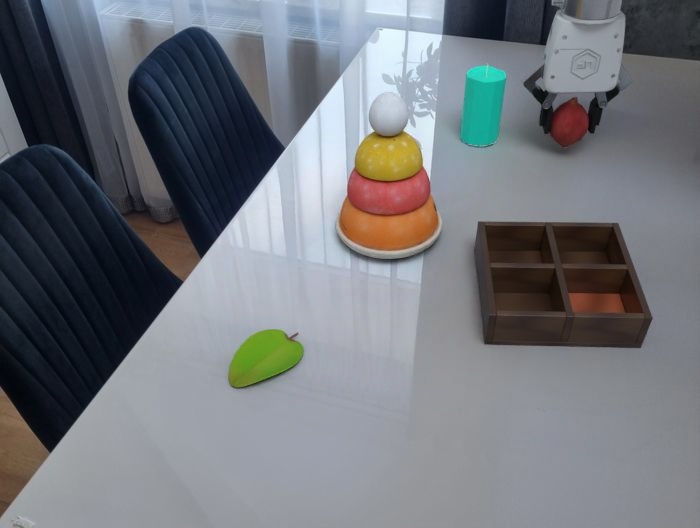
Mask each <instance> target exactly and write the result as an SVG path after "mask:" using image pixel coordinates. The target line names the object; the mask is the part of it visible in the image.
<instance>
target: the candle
mask: <svg viewBox="0 0 700 528" xmlns="http://www.w3.org/2000/svg"><path fill="white" fill-rule="evenodd" d="M506 83H507V75H506V71H505V70H503V69H500V68H496V67H493V66H491V65H489V63H486V65H477V66H475V67H472V68H470V69H469V70H467V72H466V73H465V83H464V91H463V92H464V93H463V103H462V113H461V125H460V135H459V137H460V136H461V137H460V139H462V140H461V142H462V141H464V142H466V143H467V144H472V145H478V146H480V145H481V146H482V145H489V144H491V143H494V142H495V141H496V140H497V138H498V139H499V133H500V126H501V120H502V112H503V104H504V97H505V91H506V85H507V84H506ZM497 141H498V140H497ZM497 141H496V142H497ZM464 142H463V143H464ZM467 144H466V145H467Z"/></svg>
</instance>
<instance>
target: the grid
mask: <svg viewBox="0 0 700 528" xmlns="http://www.w3.org/2000/svg"><path fill="white" fill-rule="evenodd" d="M474 242H475V243H474V249H473V250H474V258H475V270H476V277H477V278H476V279H477V286H478V297H479V305H480V315H481V323H482V334H483V342H484V345H495V346H539V347H540V346H541V347H542V346H544V347H545V346H548V347H549V346H550V347H585V348H586V347H591V348H592V347H595V348H631V349H632V348H633V349H634V348H635V349H636V348H637V349H639V348H640V349H641V348H642V346H643V344H644V341H645V339H646V337H647V334H648V332H649V329H650V326H651V323H652V321H653V314H652V312H651V309H650V307H649V304H648V301H647V298H646V295H645V293H644V290H643V287H642V284H641V282H640V280H639V276H638V273H637V270H636V268H635V266H634V263H633V260H632V258H631V255H630V254H631V253H630V251H629V249H628V245H627V243H626V240H625V238H624V234H623V232H622V229H621V225H620V224H619V222H587V221H586V222H585V221H584V222H579V221H577V222H576V221H489V220H488V221H482V220H481V221H479V220H478V221H477V227H476V234H475V241H474Z"/></svg>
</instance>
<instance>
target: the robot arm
mask: <svg viewBox="0 0 700 528" xmlns="http://www.w3.org/2000/svg"><path fill="white" fill-rule="evenodd" d="M622 4H623V0H551V6H553V7H554V6H555V7H557V8H560V9H557V11H556V12H555V15H554V17H553V20H552V23H551V25H550V29H549V33H548V36H547V40H546V43H545V44H546V45H545V48H544V53H543V57H542V60H541V61H540V62H539V63H538V64H537V65H535V67H533V69H531V70H530V71H529V72H528V73H527V74H526V75H525V76H524V77H523V78H522V80H521V82H522V85H523V87H524V88H525V89H526V90H527V91H528V92H529V93H530V94H531V95H532V96H533V98H534V99H535V100H536V101H537V102H538V103H539V105H541V106H540V112H539V117H538V118H539V119H538V125H539V126H538V127H541V128H542V130H543V134H544V135H549V134H550V129H551V123H552V117H553V112H554V107H553V103H554V101H555V100H556V98H557V96H558V95H559V94H594V96H593V98H591V100H590V101H589V106H588V110H587V114H588V117H589V128H588V130H587V133H589V134H590V135H591V134H593V135H594V134H595V132H596V128H597V126H600V124H601V119H602V116H603V115H602V114H603V110H604V108H606V107H607V106H608V103H610V102H611V101H612V100H613V99H614V98H616V97H617V96H619V94H620V92H622V91H624V90H625V89H626V88H628V87H629V86H630V85H631V84H632V83H633V82H634V80H633V77H632V76H631V73H629V72H628V70H627V69H626V68H625V66H624V65H623V64H622V57H623V52H624V44H625V34H626V14H625V13H624V12H623V11H622V10H621V7H622ZM540 78H541V79H542V85H543V88H544V89H542V88H541V86H540V85H538V84H537V81H538V80H539V79H540Z"/></svg>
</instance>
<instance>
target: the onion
mask: <svg viewBox="0 0 700 528" xmlns="http://www.w3.org/2000/svg"><path fill="white" fill-rule="evenodd" d="M588 128H589V117H588V111H587V110H586V109H585V107H584V106H583V105H582V104H581V103H579V101H578V97H577V96H573V97H571V98H570V99H568V100H567V101H564V102H562V103H561V104H560V105H558V106H557V107H556V108H555V109H554V110H553V117H552V123H551V129H550V133H549V135H550V137H551V139H553V141H554V142H556V143H557V144H559V146H561V147H562V148H564V149H567V148H568V147H570V146H572V145H574V144H577V143H578V142H580V141H581V140H582V139H583V137H585V136H586V134H587V133H588Z"/></svg>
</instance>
